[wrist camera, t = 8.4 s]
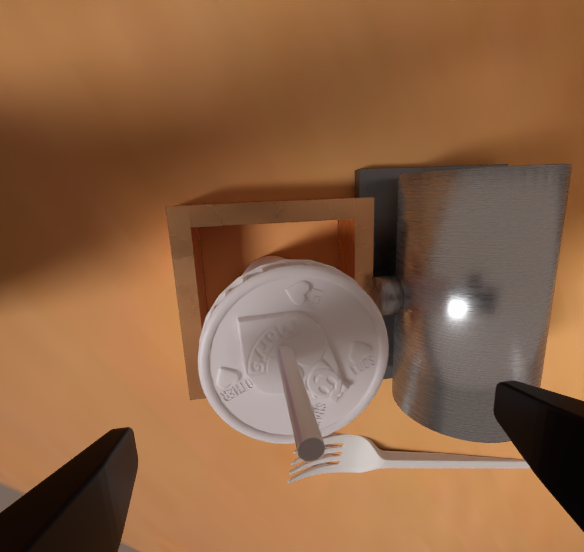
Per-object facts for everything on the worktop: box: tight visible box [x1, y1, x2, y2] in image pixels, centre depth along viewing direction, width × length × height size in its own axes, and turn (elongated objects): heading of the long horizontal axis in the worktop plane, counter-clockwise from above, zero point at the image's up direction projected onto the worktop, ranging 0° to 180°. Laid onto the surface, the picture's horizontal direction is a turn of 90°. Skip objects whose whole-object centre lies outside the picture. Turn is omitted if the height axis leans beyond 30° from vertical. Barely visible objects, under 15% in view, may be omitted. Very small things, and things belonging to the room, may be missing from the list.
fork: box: [287, 433, 530, 483], centre depth 24 cm, size 3×20×2 cm, turn 79°
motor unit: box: [166, 164, 572, 443], centre depth 17 cm, size 19×13×8 cm
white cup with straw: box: [198, 256, 389, 462], centre depth 14 cm, size 6×6×14 cm
